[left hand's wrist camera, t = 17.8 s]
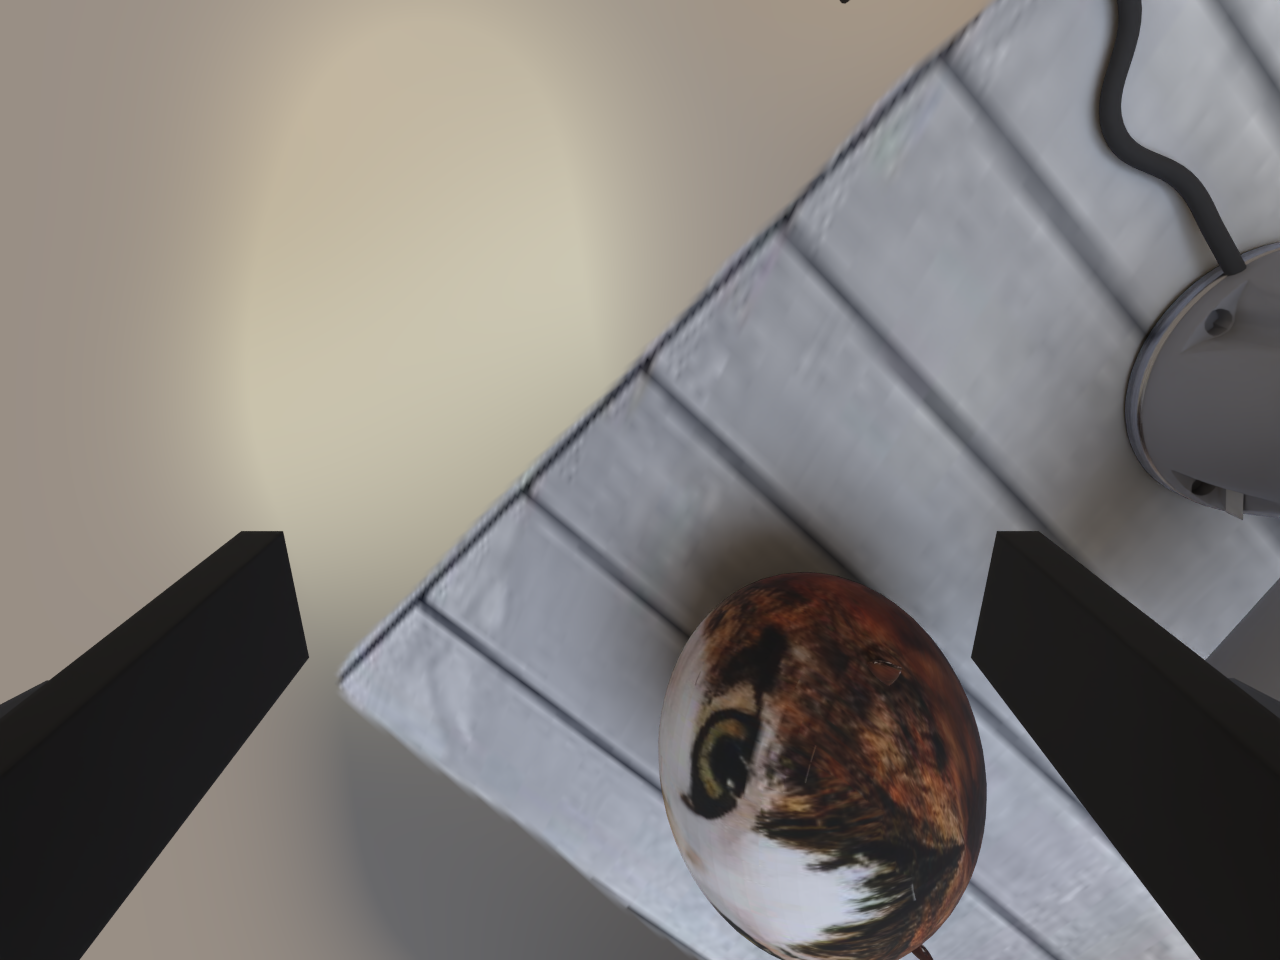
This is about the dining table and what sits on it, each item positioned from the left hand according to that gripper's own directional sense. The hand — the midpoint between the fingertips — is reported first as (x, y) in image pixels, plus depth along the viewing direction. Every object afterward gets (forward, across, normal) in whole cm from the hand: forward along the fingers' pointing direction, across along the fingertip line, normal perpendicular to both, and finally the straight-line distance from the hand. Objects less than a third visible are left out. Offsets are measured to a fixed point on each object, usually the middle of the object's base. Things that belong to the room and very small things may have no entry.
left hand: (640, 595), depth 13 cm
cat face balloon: (+28, +10, -22) cm, 37 cm away
